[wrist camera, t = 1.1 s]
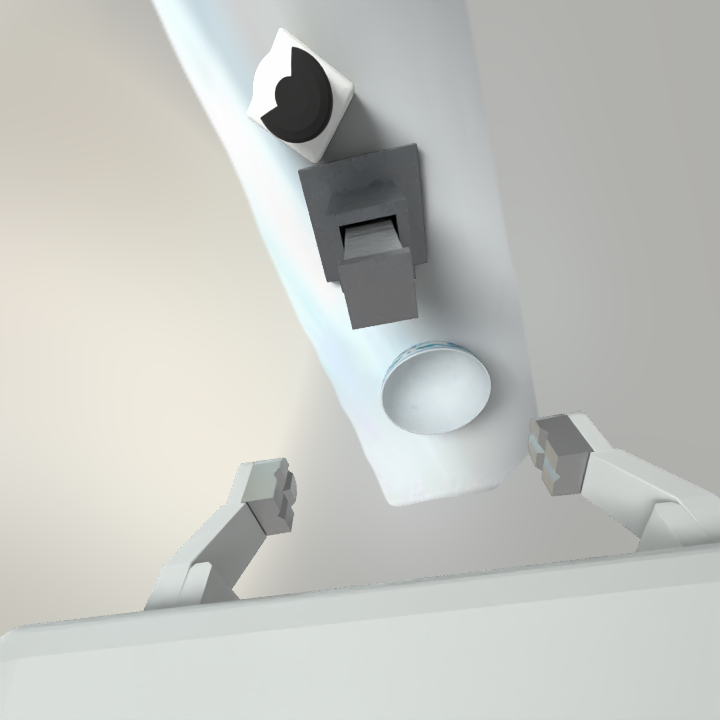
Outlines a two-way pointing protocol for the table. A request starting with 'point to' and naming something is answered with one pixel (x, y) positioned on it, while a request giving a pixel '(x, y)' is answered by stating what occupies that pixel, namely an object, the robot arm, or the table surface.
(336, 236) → the stand base
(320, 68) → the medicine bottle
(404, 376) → the chinaware
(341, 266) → the column
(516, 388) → the table surface
